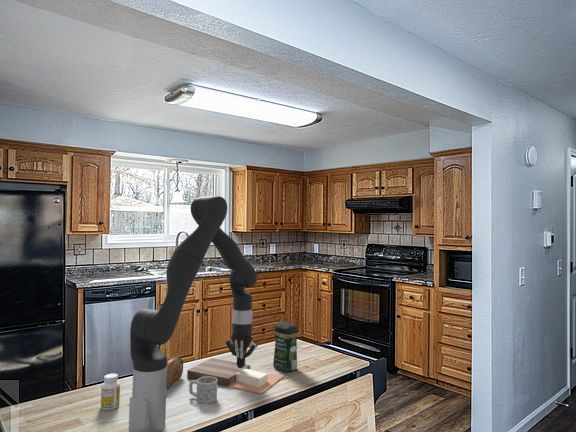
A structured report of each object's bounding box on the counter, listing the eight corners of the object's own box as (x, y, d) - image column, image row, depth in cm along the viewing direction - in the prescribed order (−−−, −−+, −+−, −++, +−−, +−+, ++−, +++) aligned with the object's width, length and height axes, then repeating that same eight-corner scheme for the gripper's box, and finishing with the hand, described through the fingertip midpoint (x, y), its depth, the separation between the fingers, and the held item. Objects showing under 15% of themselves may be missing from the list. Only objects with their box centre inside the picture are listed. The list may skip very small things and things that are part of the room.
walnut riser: (228, 386, 153) (228, 378, 153) (187, 378, 160) (187, 370, 160) (250, 372, 167) (250, 365, 168) (211, 365, 175) (211, 358, 175)
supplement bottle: (113, 401, 138) (114, 371, 138) (122, 406, 135) (123, 375, 135) (97, 406, 134) (98, 375, 134) (106, 412, 131) (107, 380, 131)
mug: (220, 398, 143) (221, 378, 143) (210, 406, 137) (210, 385, 137) (194, 393, 147) (195, 373, 147) (183, 400, 140) (184, 380, 140)
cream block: (258, 387, 152) (259, 378, 152) (236, 381, 157) (236, 373, 157) (267, 382, 157) (268, 373, 157) (245, 376, 162) (245, 368, 162)
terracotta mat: (261, 394, 147) (261, 392, 147) (228, 386, 153) (228, 385, 153) (283, 377, 164) (283, 376, 164) (252, 371, 169) (252, 370, 169)
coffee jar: (269, 367, 174) (271, 322, 174) (283, 363, 180) (284, 319, 180) (286, 374, 167) (288, 326, 167) (300, 369, 173) (301, 323, 173)
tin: (164, 392, 147) (165, 367, 147) (156, 391, 148) (156, 366, 148) (183, 376, 162) (184, 354, 162) (176, 375, 162) (176, 353, 162)
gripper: (221, 321, 160) (220, 367, 159) (252, 325, 154) (251, 373, 154) (232, 317, 166) (230, 361, 166) (262, 321, 161) (261, 367, 161)
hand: (240, 367), depth 160 cm, fingers closed
